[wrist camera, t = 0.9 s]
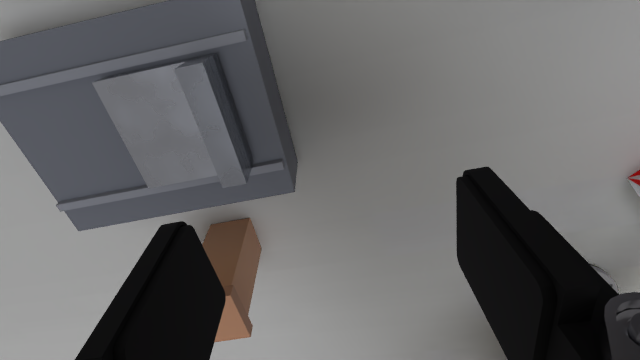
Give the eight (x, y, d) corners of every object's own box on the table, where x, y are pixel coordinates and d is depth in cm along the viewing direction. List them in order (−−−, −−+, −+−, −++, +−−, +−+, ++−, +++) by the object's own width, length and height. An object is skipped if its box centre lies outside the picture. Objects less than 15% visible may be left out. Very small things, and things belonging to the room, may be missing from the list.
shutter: (253, 162, 24) (246, 183, 22) (154, 181, 25) (135, 204, 22) (216, 52, 21) (202, 62, 18) (100, 78, 21) (71, 91, 19)
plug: (266, 250, 35) (250, 336, 27) (222, 257, 36) (192, 345, 27) (252, 213, 33) (230, 295, 24) (205, 222, 34) (167, 305, 25)
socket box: (297, 162, 30) (294, 195, 26) (110, 197, 32) (74, 235, 27) (250, -16, 23) (233, -16, 19) (14, 40, 25) (-56, 54, 20)
